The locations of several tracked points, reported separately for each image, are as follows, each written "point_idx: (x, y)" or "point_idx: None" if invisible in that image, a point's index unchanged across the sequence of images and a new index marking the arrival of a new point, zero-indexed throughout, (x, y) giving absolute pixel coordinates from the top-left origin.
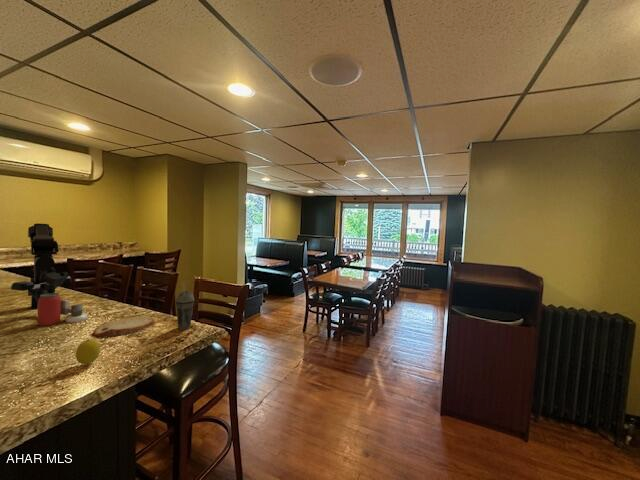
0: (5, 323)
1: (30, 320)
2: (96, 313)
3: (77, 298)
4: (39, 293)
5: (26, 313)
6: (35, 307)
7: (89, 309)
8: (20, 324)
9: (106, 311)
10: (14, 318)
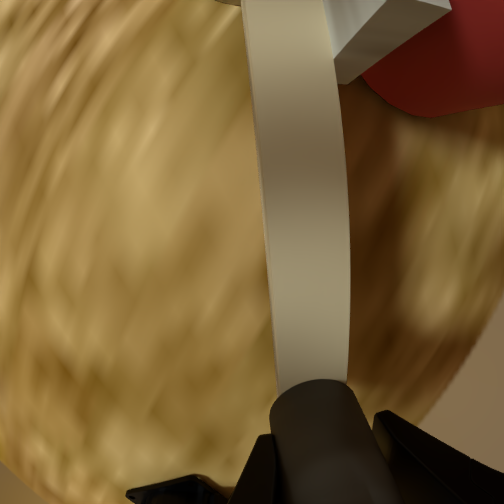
0: (486, 326)
1: (421, 266)
2: (64, 5)
3: (15, 469)
4: (485, 490)
5: None
6: (225, 499)
7: (10, 172)
8: (486, 224)
9: (12, 13)
10: (410, 398)
